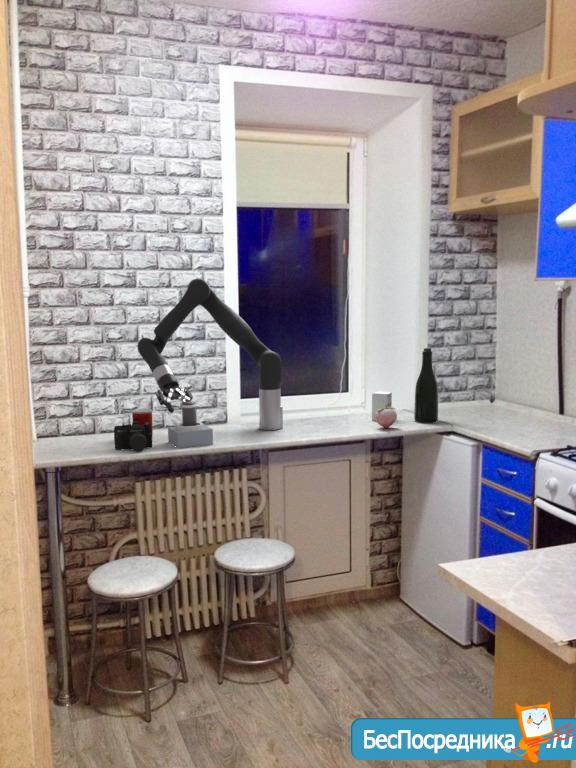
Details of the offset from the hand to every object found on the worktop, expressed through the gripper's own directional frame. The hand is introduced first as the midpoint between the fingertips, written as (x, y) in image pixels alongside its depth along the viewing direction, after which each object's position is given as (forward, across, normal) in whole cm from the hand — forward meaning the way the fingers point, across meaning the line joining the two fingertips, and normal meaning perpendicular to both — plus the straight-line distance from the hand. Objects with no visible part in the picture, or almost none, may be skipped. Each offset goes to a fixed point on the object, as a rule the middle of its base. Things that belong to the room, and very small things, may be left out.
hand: (182, 410), depth 264 cm
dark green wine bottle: (+38, +102, -21) cm, 111 cm away
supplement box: (+26, +91, -9) cm, 95 cm away
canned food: (-4, -7, +22) cm, 24 cm away
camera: (+9, -21, +9) cm, 25 cm away
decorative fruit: (+36, +77, -19) cm, 87 cm away
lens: (+8, 0, +1) cm, 8 cm away
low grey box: (+12, 0, +5) cm, 13 cm away
